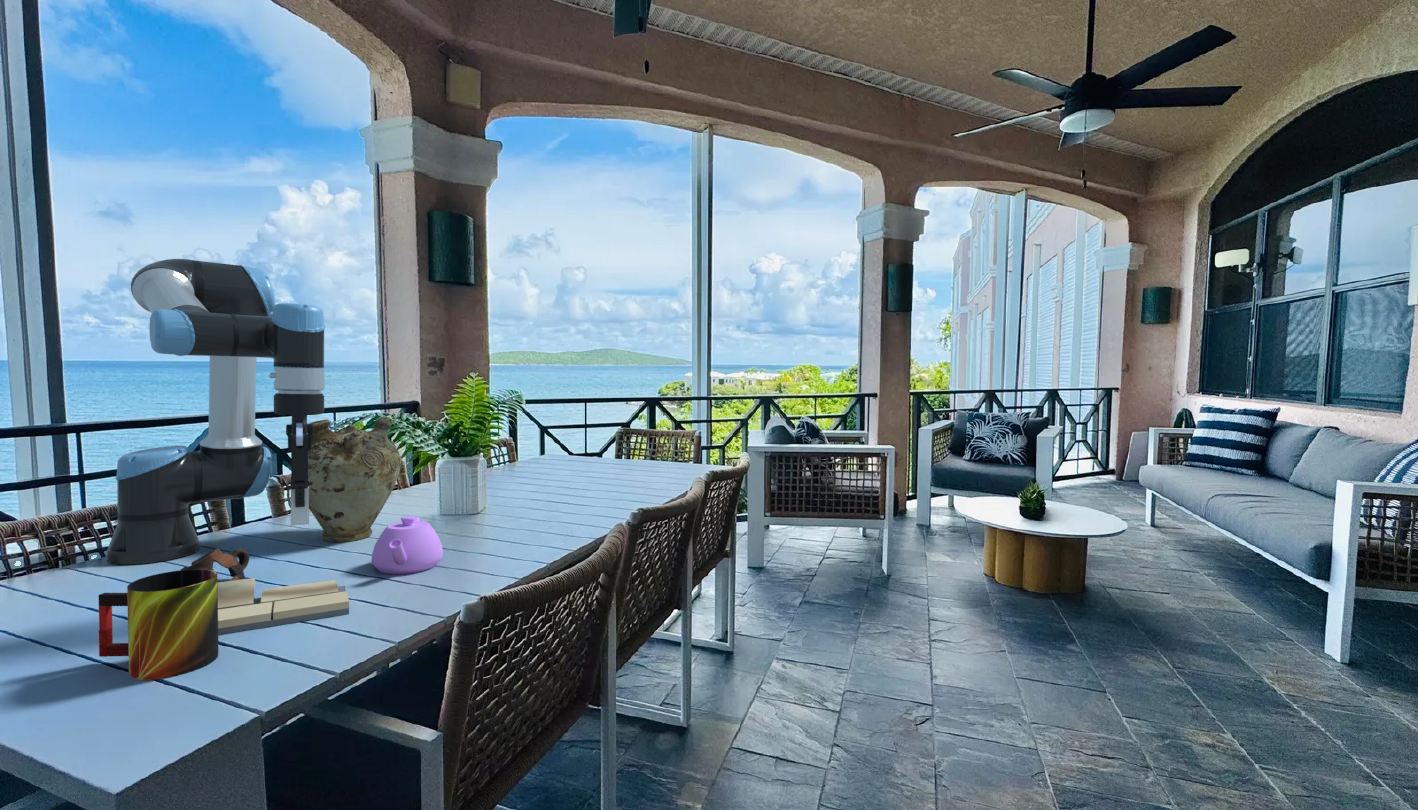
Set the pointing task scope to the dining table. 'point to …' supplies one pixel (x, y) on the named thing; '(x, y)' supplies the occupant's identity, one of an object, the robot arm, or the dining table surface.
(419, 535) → the teapot
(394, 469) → the vase
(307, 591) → the plank far
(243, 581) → the plank near
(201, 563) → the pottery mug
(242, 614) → the floor panel
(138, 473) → the robot arm
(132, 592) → the mug
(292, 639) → the dining table surface
